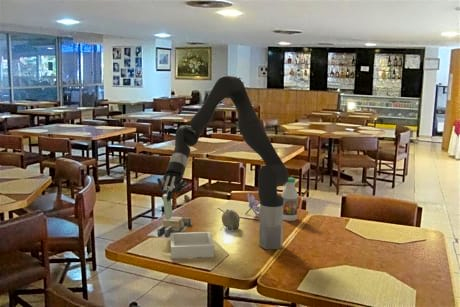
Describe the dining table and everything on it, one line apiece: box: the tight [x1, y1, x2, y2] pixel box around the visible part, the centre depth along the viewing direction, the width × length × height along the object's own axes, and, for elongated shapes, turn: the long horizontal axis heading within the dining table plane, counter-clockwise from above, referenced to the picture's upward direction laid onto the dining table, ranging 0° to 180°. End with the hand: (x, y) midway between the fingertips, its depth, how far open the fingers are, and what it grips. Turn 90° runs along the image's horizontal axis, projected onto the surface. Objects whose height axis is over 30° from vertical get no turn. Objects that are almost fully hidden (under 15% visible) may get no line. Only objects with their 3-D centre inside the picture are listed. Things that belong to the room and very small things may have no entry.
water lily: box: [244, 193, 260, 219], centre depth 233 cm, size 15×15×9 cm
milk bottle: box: [281, 176, 299, 222], centre depth 227 cm, size 8×8×20 cm
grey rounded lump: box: [221, 209, 241, 231], centre depth 211 cm, size 9×8×10 cm
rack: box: [146, 215, 192, 239], centre depth 207 cm, size 20×12×4 cm, turn 163°
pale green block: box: [162, 191, 174, 220], centre depth 198 cm, size 4×2×11 cm, turn 164°
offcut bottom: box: [160, 222, 184, 231], centre depth 209 cm, size 6×8×2 cm
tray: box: [169, 231, 215, 260], centre depth 185 cm, size 16×16×4 cm
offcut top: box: [162, 216, 182, 226], centre depth 209 cm, size 6×7×2 cm
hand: (165, 200), depth 195 cm, fingers closed on pale green block, 1 cm apart
